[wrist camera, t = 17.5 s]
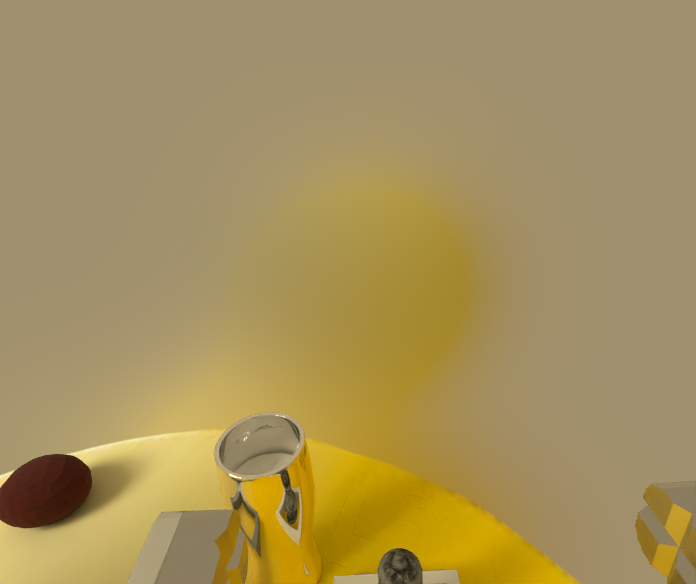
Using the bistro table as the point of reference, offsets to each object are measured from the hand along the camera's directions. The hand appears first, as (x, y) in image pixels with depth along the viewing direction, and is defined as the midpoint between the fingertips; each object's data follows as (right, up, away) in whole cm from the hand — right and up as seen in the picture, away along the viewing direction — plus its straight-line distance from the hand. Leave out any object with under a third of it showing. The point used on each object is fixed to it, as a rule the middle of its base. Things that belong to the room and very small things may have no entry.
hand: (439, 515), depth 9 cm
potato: (-33, -19, +37) cm, 53 cm away
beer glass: (-7, -20, +29) cm, 36 cm away
